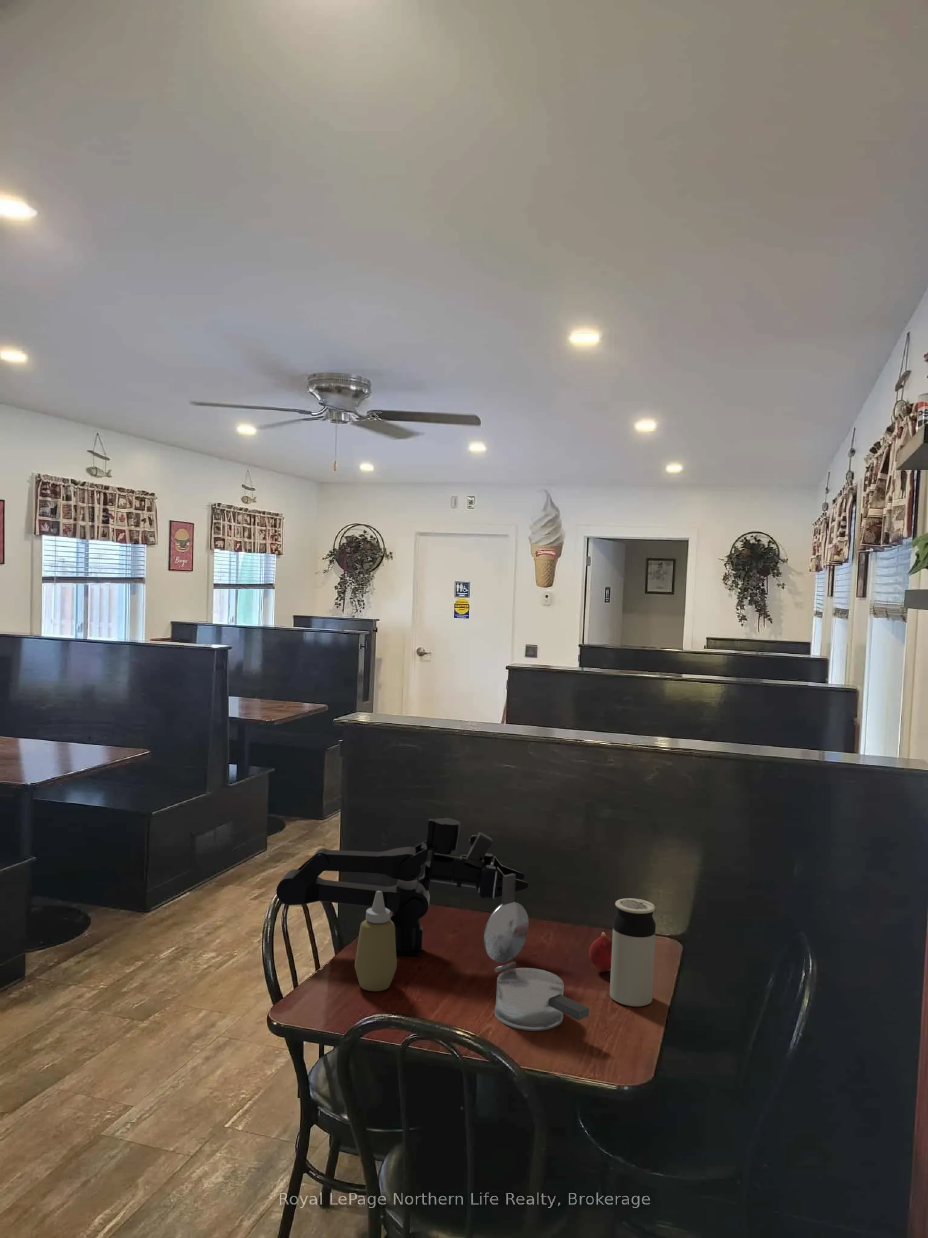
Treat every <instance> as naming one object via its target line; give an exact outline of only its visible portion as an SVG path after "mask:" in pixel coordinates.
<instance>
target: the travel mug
mask: <svg viewBox="0 0 928 1238" xmlns="http://www.w3.org/2000/svg"><path fill="white" fill-rule="evenodd" d="M615 907H616V913H615V915H614V917H613V918H612V919H613V920H612V937H611V938H612V939H611V940H612V957H611V969H610V983H609V996H610V998H611V999H612V1000H614V1001H615V1002H617V1003H618V1004H620V1005H623V1006H628V1007H637V1008H638V1007H644V1006H647V1005H649V1004H651V1003H652V1002H653V990H654V989H653V987H654V969H655V968H654V967H655V948H656V945H655V944H656V927H657V926H656V925H657V923H656V920H655V919H654V917H653V914H654V911H655V910H656V906H655V905H654V904H653V903H652V902H650V901H647V900H644V899H640V898H631V897H630V898H629V897H628V898H626V897H625V898H620V899H618V900H616V901H615Z"/></svg>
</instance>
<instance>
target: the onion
mask: <svg viewBox="0 0 928 1238" xmlns="http://www.w3.org/2000/svg"><path fill="white" fill-rule="evenodd" d="M600 935H601V936H599V937H597V938H596V939H595V940H594V941H593V942H592V943H591V945H590V947H589V950H588V951H589V952H588V956H589V960H590V961H591V962H590V963H592V964H593V966H594V967H595V968H596V969H597V970H598V971H599V972H601V973H605V972H606V971H608V970H611V957H612V939H611V938H609V937H608V936H607V934H606V933H605V932H603V931H602V932H601V934H600Z"/></svg>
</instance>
